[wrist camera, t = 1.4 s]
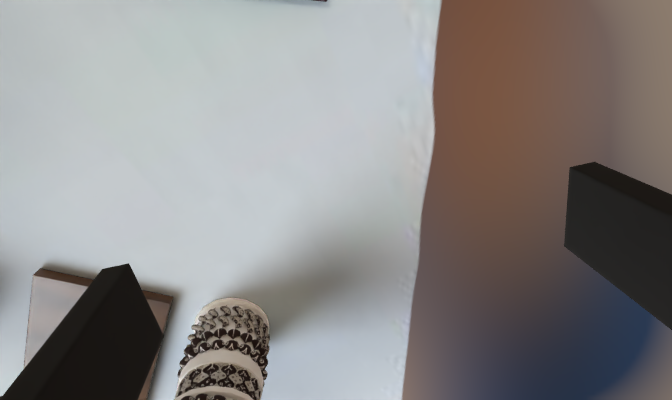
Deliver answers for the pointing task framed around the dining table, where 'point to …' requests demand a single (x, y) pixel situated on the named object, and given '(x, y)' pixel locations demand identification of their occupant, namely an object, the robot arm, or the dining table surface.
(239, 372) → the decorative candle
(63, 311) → the walnut board
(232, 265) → the dining table surface
